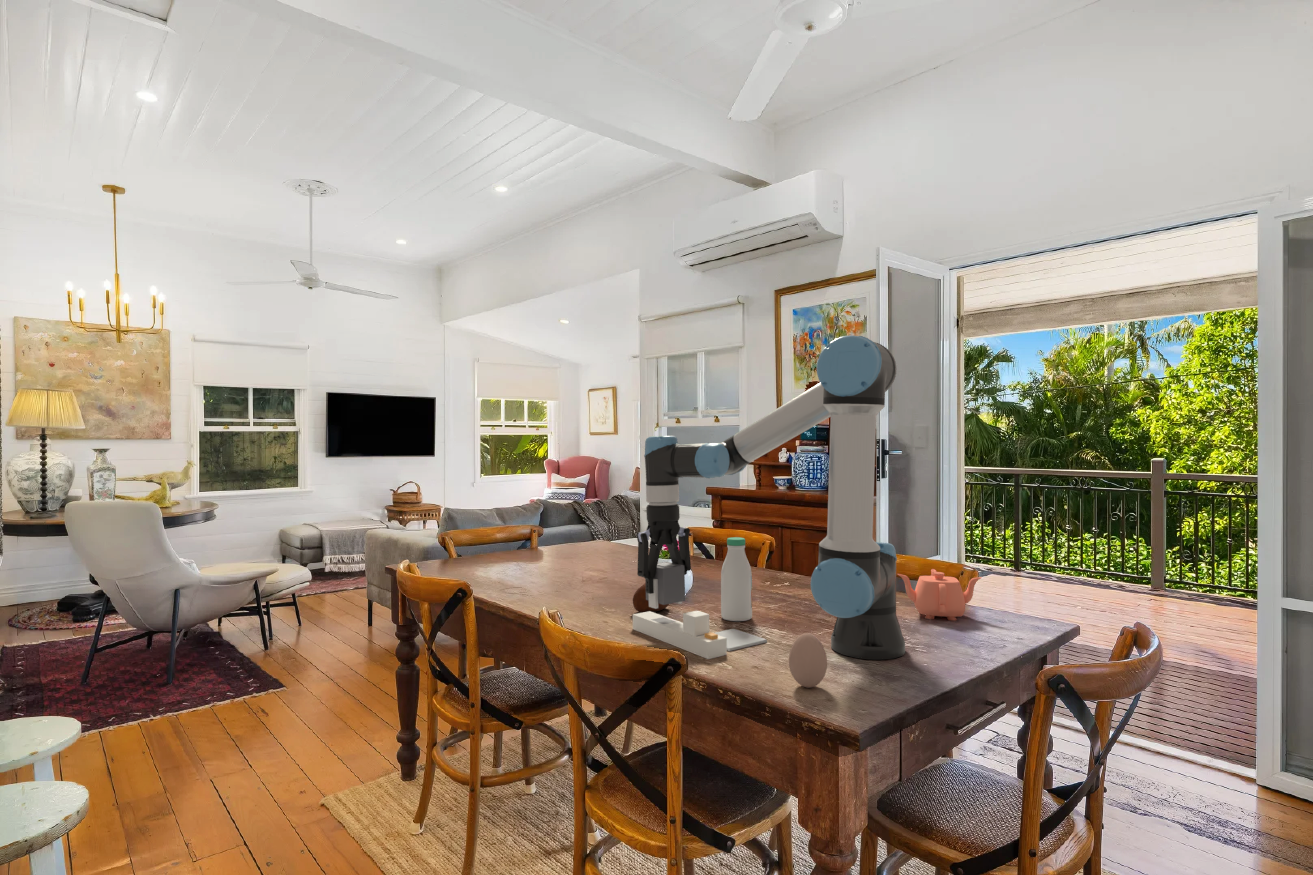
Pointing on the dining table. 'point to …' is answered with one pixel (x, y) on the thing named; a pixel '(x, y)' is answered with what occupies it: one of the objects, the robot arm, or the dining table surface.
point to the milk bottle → (736, 583)
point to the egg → (808, 660)
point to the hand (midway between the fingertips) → (665, 604)
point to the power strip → (679, 635)
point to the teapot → (939, 595)
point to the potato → (644, 601)
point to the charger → (670, 583)
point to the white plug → (695, 623)
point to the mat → (740, 639)
